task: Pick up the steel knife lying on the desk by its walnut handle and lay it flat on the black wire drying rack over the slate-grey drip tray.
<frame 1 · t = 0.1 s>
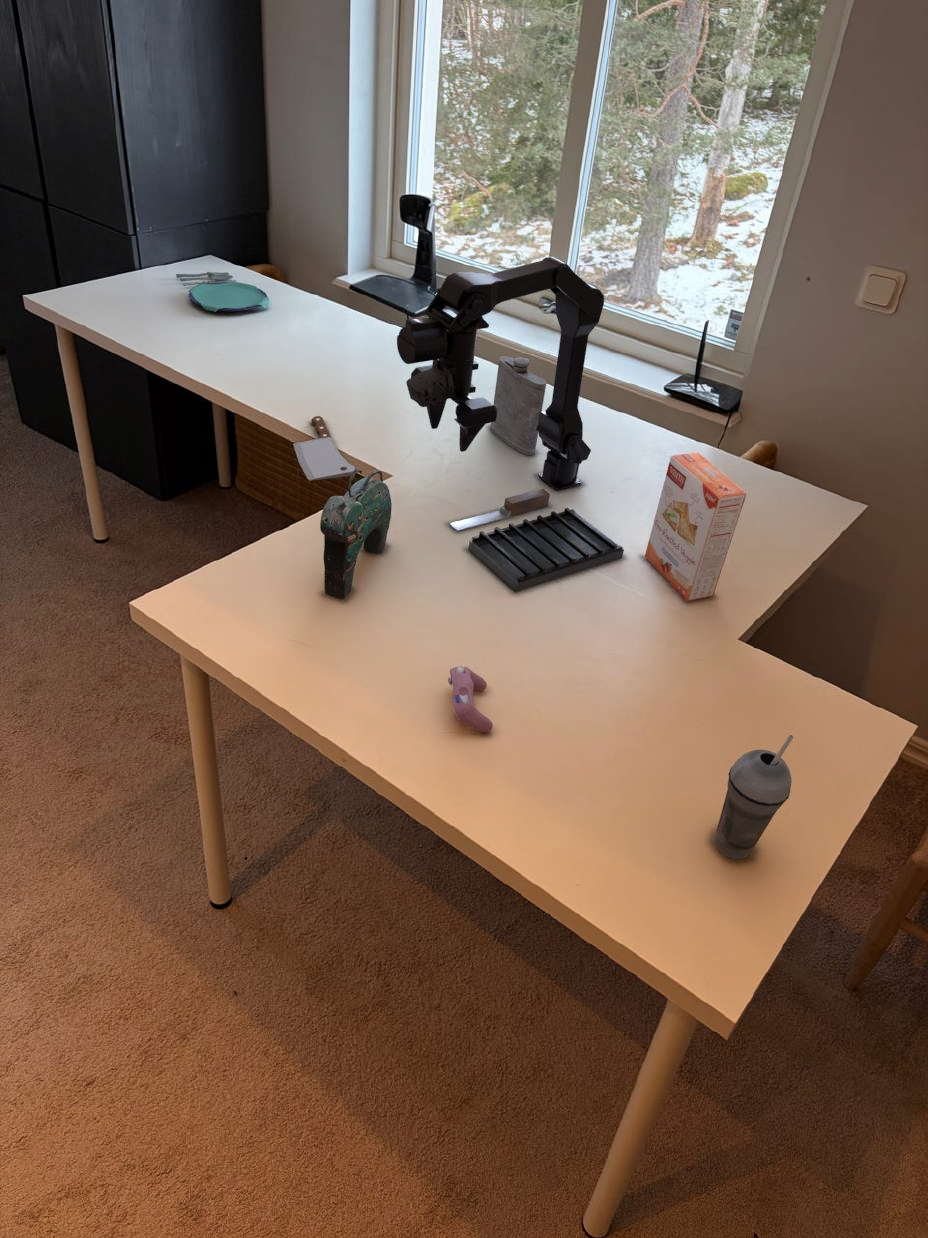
hand: (448, 439, 167), 15 cm above the table, tool pointing down, fingers open, 9 cm apart
cracker box: (676, 578, 166), on the table
beverage cup: (732, 846, 119), on the table
flask: (510, 441, 202), on the table
kitchen cleaver: (319, 449, 190), on the table
cutlery set: (222, 296, 250), on the table
knife: (500, 515, 177), on the table
dish rack: (545, 553, 168), on the table
video game controller: (468, 711, 134), on the table
elephant figurine: (354, 571, 158), on the table
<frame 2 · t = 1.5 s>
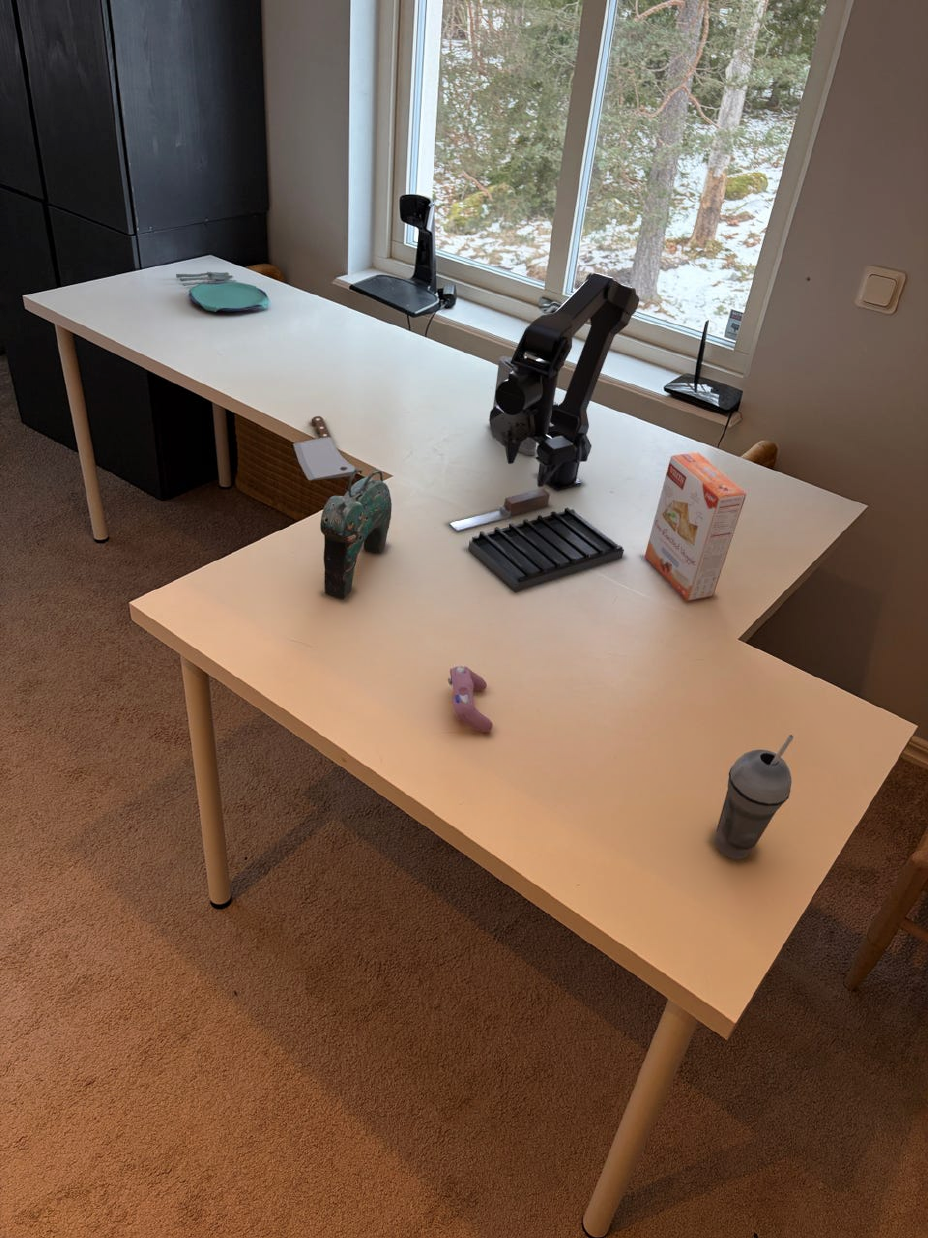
hand: (525, 474, 174), 8 cm above the table, tool pointing down, fingers open, 9 cm apart
nothing on the table moved.
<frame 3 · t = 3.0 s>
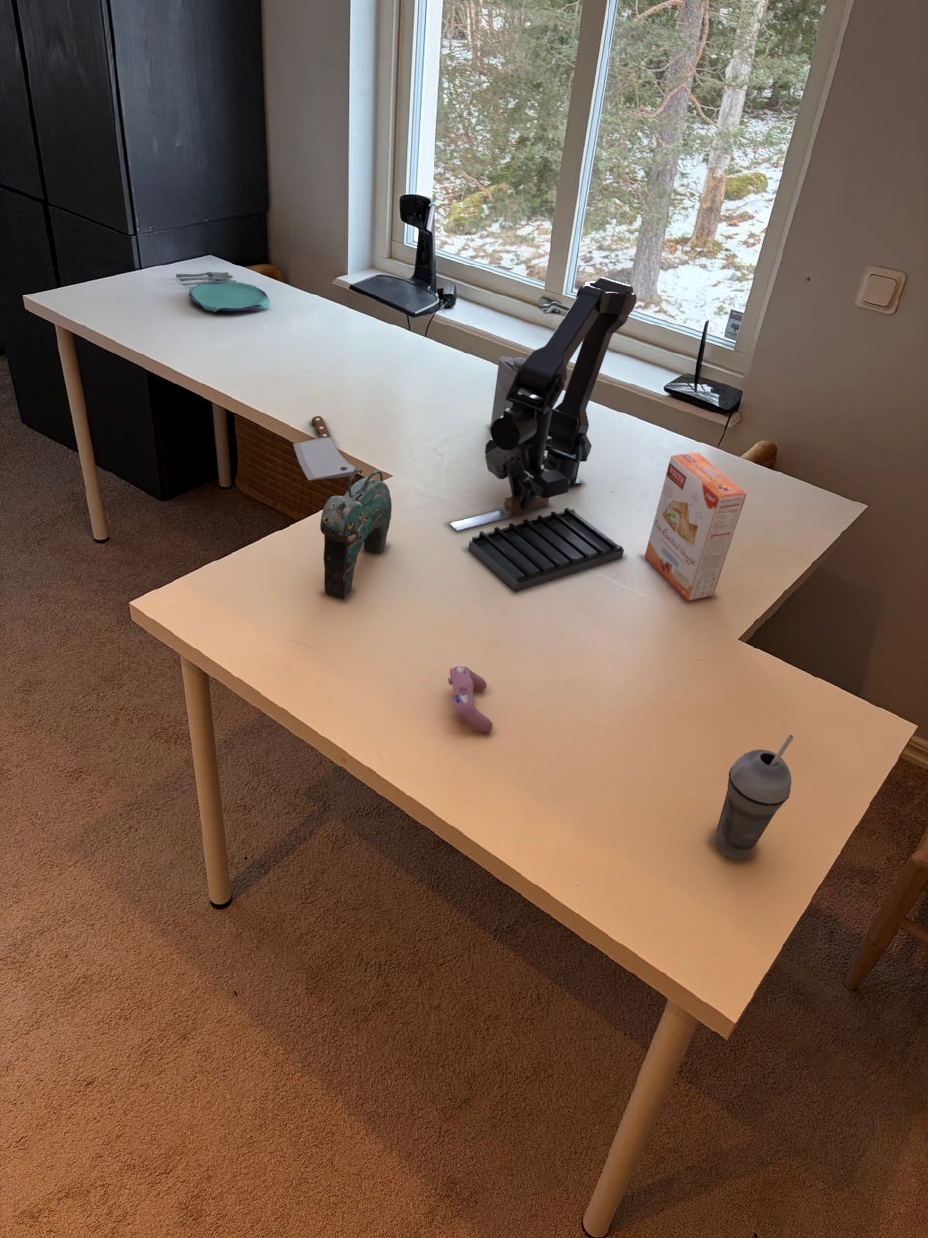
hand: (520, 505, 178), 1 cm above the table, tool pointing down, fingers closed on knife, 2 cm apart
knife: (500, 515, 177), on the table, touching gripper
everything else where it was.
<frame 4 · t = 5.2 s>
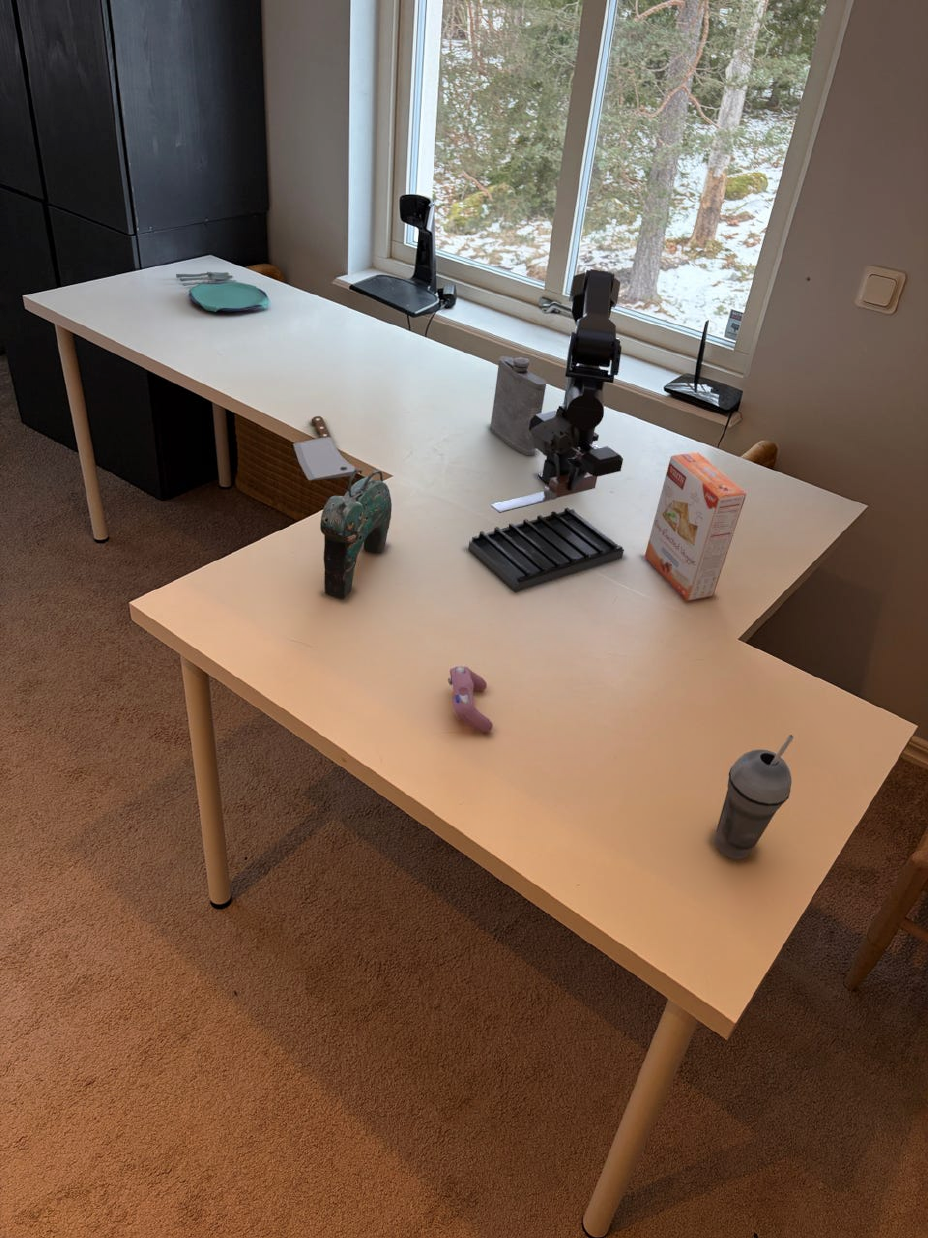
hand: (566, 486, 165), 11 cm above the table, tool pointing down, fingers closed on knife, 2 cm apart
knife: (544, 497, 163), point 10 cm above the table, touching gripper
everything else where it was.
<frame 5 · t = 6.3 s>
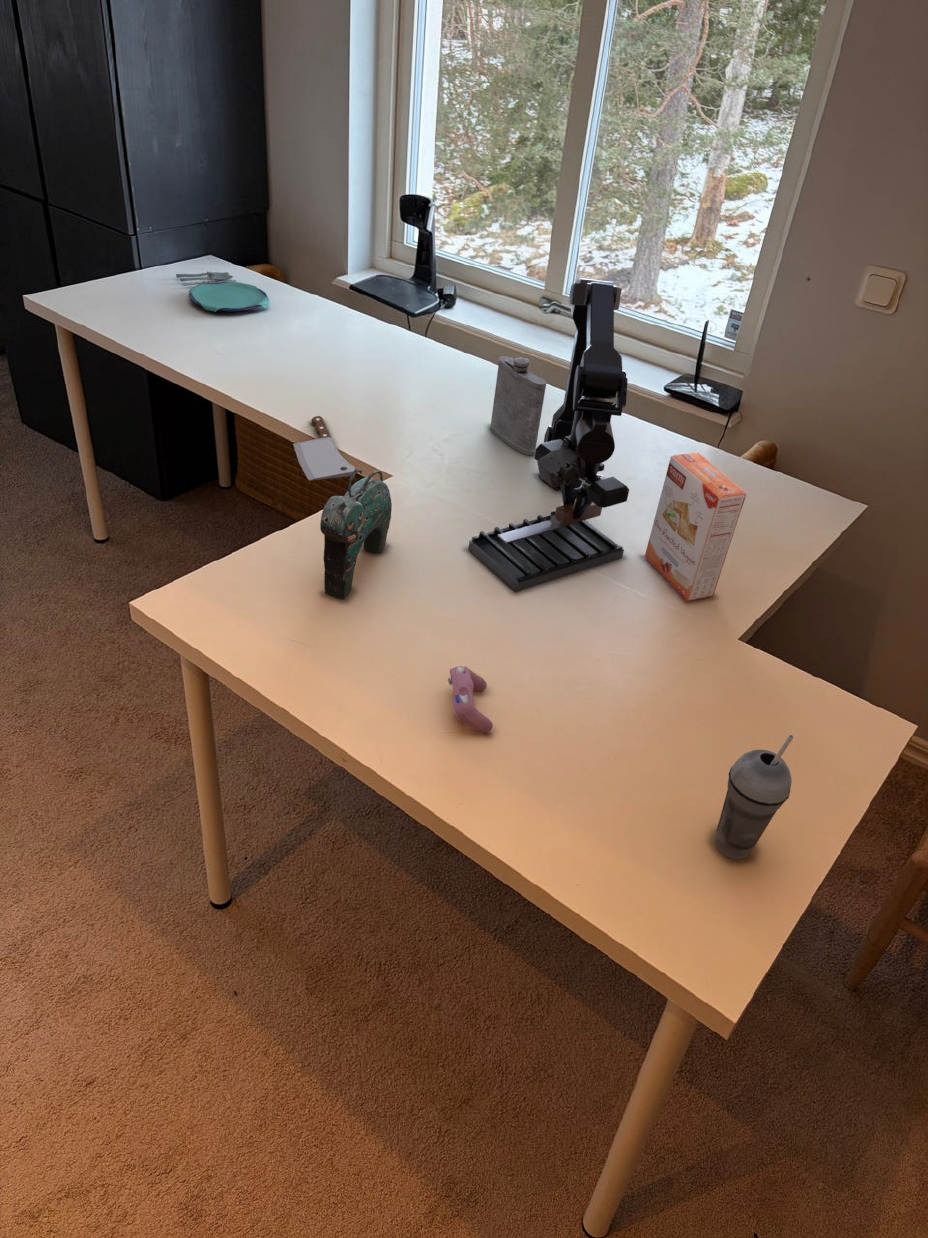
hand: (572, 515, 166), 7 cm above the table, tool pointing down, fingers closed on knife, 2 cm apart
knife: (550, 525, 164), point 6 cm above the table, touching gripper
everything else where it was.
when the fingers open (4 cm above the table, at t = 7.2 s): knife stays where it is, resting on dish rack.
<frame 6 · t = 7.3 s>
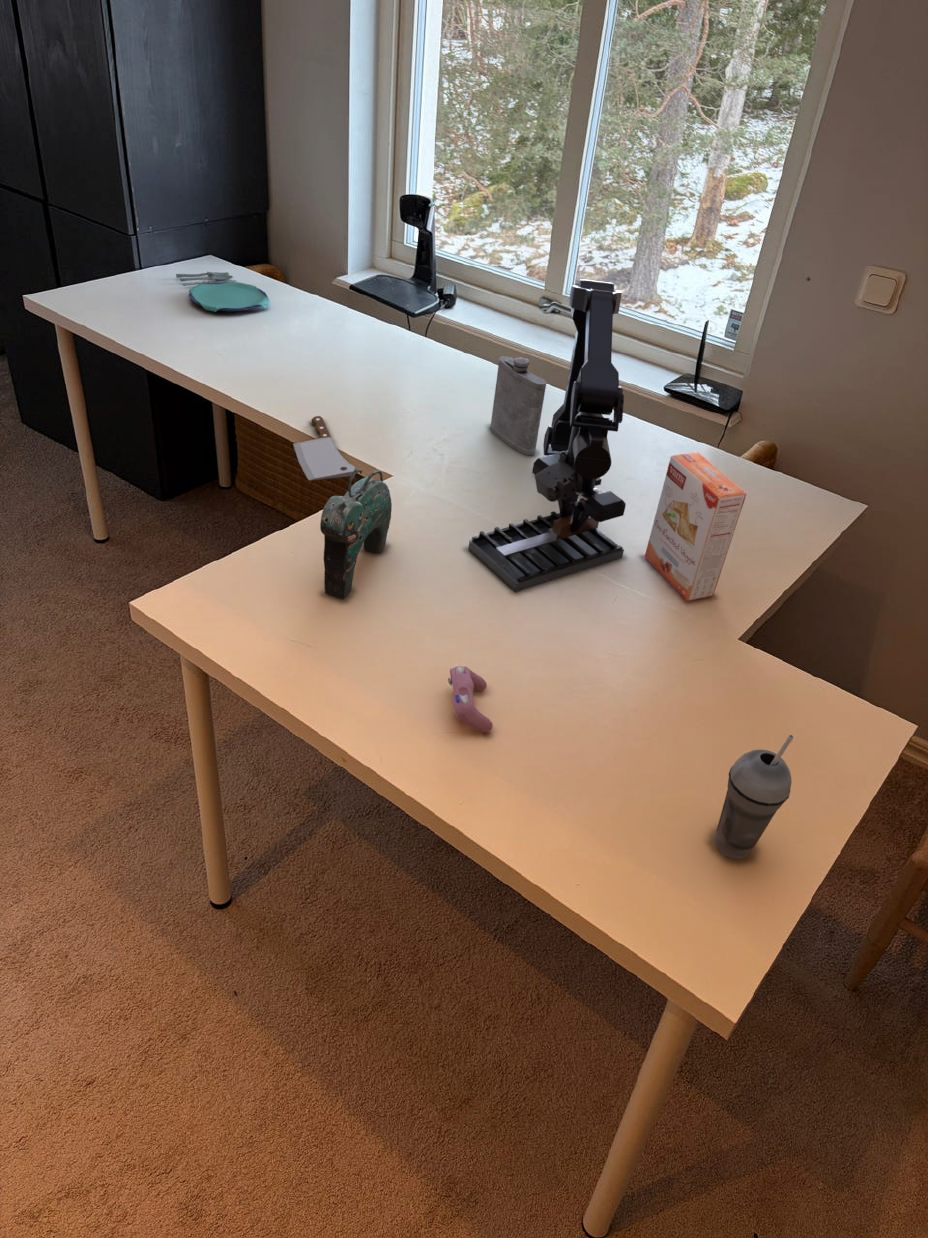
hand: (569, 528, 168), 4 cm above the table, tool pointing down
knife: (548, 538, 166), point 3 cm above the table, touching dish rack
everything else where it was.
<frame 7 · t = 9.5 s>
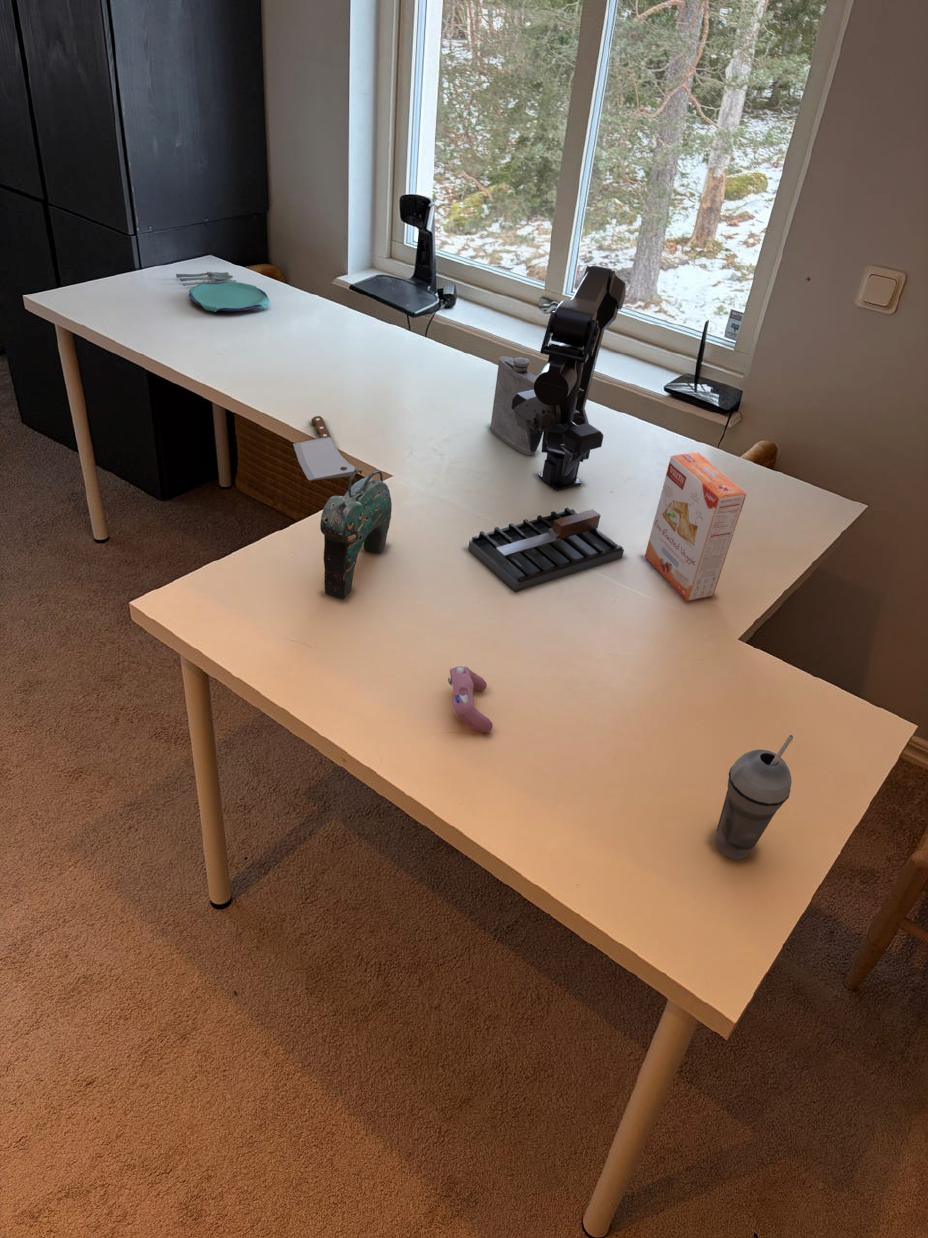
hand: (548, 463, 170), 12 cm above the table, tool pointing down, fingers open, 9 cm apart
nothing on the table moved.
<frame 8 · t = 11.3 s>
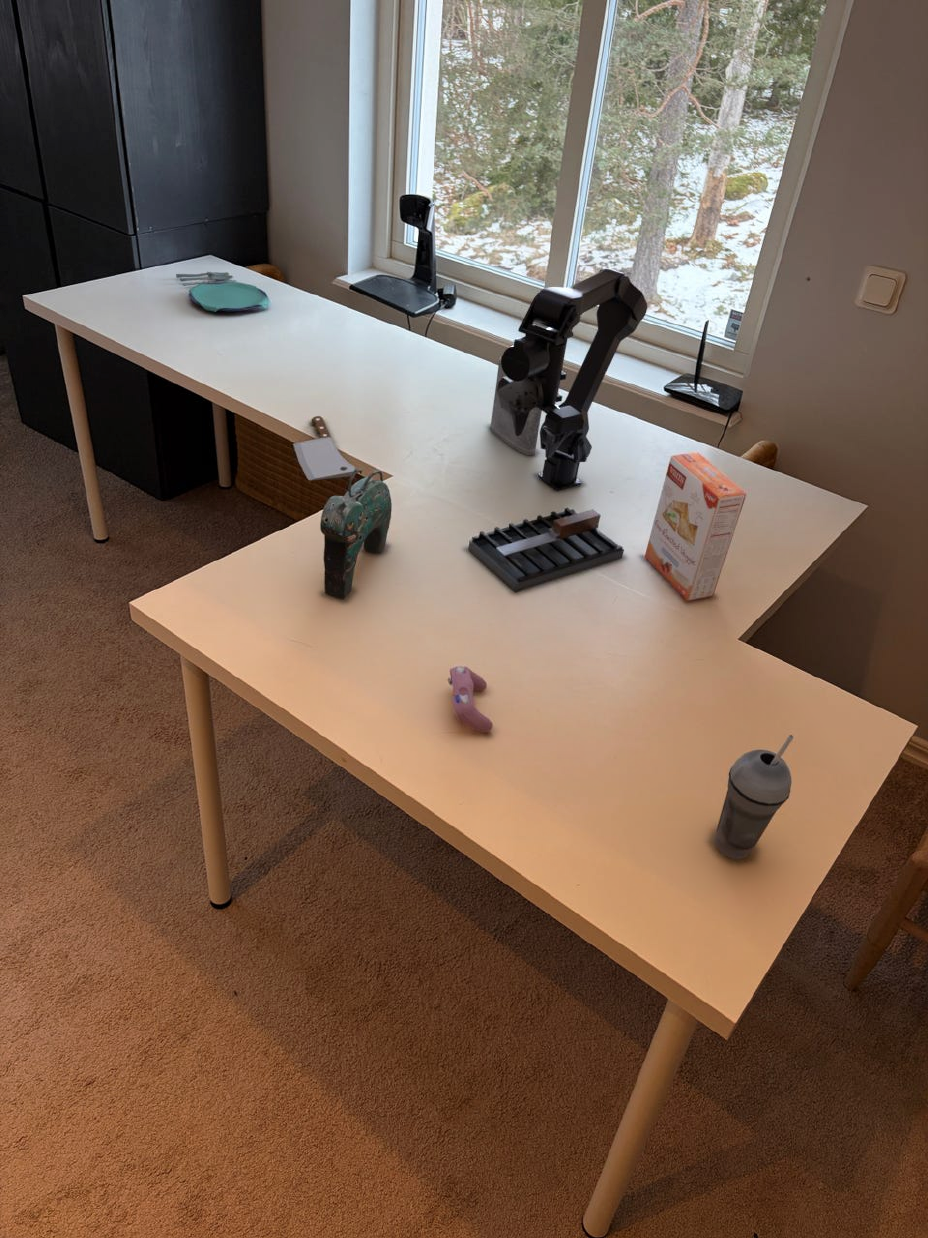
hand: (532, 446, 174), 12 cm above the table, tool pointing down, fingers open, 9 cm apart
nothing on the table moved.
at the end: knife inside the target area on the dish rack (0.0 cm from its centre), point 3.2 cm above the dish rack's base; knife touching dish rack; knife tilted 0° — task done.
